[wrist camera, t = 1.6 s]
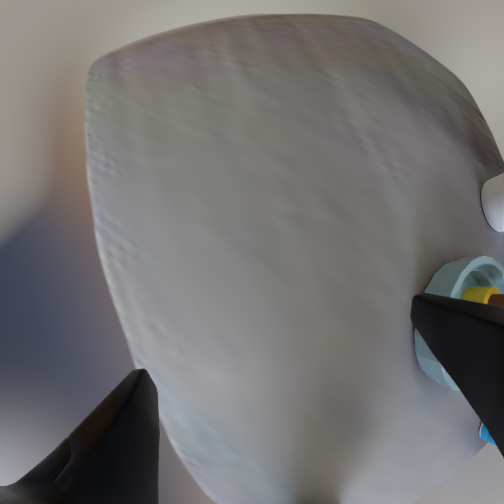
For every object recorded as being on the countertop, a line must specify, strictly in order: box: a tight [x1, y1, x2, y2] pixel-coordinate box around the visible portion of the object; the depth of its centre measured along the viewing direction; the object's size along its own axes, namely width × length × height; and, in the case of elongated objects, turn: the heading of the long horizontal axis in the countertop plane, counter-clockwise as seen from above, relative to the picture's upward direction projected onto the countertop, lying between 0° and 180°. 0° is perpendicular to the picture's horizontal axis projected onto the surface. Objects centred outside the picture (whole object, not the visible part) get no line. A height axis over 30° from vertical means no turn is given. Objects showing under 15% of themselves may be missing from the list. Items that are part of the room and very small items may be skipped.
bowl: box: [414, 255, 504, 392], centre depth 22 cm, size 15×15×5 cm
